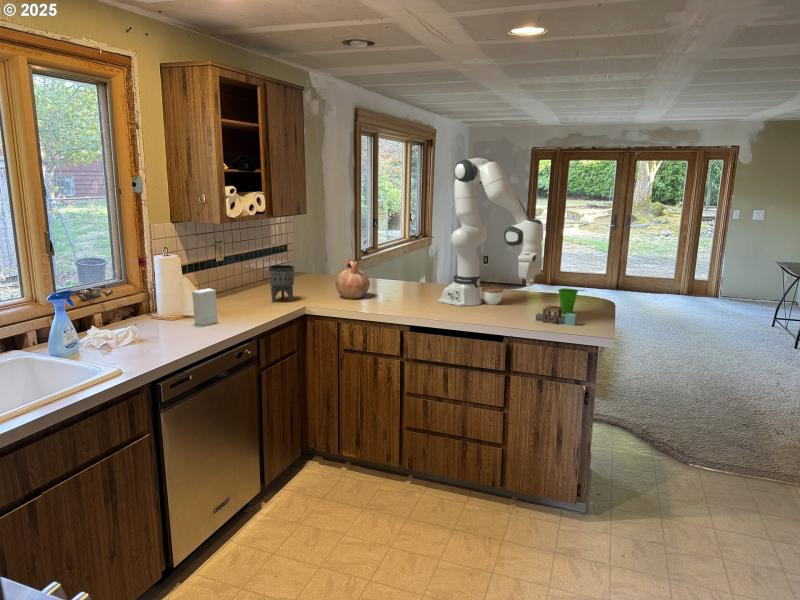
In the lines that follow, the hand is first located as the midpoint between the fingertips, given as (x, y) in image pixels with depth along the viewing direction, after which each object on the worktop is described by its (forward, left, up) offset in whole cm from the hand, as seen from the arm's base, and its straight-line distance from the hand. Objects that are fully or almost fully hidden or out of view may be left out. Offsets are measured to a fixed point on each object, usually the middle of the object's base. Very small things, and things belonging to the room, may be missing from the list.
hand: (529, 285), depth 256 cm
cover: (+11, 0, -15) cm, 18 cm away
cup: (+12, +19, -15) cm, 27 cm away
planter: (-118, -36, -15) cm, 124 cm away
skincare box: (-113, -88, -15) cm, 144 cm away
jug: (-94, -8, -15) cm, 95 cm away
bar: (+11, -1, -15) cm, 19 cm away
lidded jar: (-26, +19, -15) cm, 36 cm away
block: (+20, 0, -15) cm, 25 cm away
